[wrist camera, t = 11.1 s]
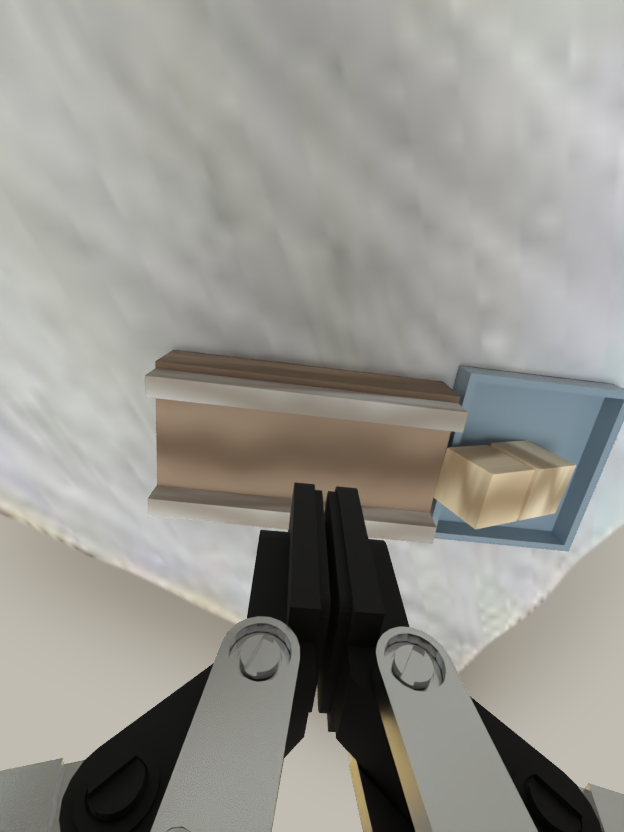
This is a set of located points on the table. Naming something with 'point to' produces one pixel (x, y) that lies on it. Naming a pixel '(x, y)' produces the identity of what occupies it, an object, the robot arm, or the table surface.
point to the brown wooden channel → (296, 441)
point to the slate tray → (545, 427)
